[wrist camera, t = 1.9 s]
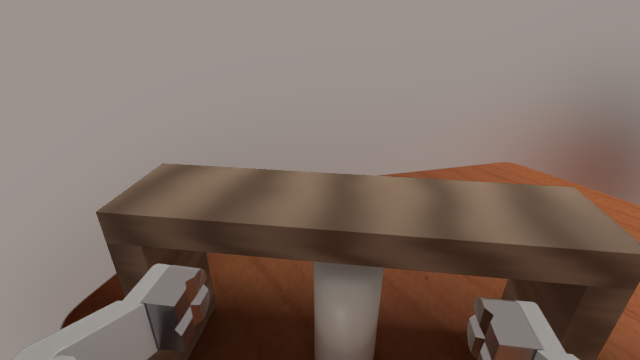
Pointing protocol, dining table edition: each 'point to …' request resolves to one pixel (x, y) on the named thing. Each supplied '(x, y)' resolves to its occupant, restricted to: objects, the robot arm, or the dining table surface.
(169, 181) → the arch
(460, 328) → the dining table surface
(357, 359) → the white cylinder
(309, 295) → the dining table surface
